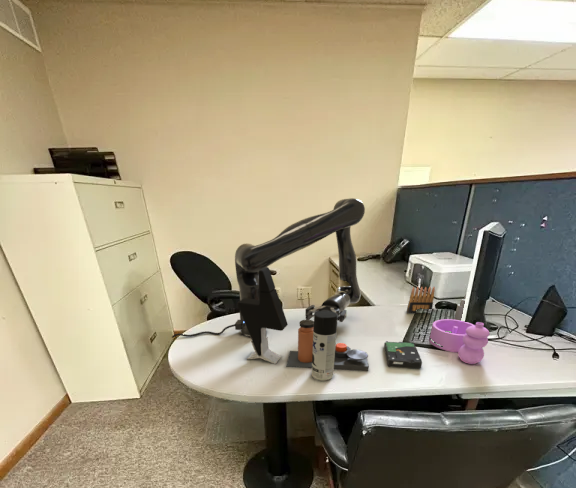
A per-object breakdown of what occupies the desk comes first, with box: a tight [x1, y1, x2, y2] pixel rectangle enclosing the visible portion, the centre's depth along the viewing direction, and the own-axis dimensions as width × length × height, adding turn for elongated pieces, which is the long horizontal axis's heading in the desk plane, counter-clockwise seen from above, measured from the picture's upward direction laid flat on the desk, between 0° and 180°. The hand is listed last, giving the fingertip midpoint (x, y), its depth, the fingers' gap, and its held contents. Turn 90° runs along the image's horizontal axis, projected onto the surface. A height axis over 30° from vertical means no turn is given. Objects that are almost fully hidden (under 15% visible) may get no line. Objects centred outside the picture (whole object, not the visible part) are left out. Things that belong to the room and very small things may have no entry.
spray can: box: [311, 311, 338, 382], centre depth 96 cm, size 7×7×20 cm
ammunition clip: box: [406, 286, 436, 314], centre depth 145 cm, size 11×2×12 cm, turn 89°
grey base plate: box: [334, 345, 370, 372], centre depth 107 cm, size 14×11×4 cm
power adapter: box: [453, 293, 467, 321], centre depth 135 cm, size 3×5×12 cm, turn 81°
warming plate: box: [346, 349, 369, 360], centre depth 105 cm, size 7×7×1 cm
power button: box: [336, 342, 348, 352], centre depth 108 cm, size 4×4×2 cm
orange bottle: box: [297, 319, 314, 363], centre depth 106 cm, size 6×6×13 cm
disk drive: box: [383, 340, 423, 369], centre depth 110 cm, size 10×3×15 cm
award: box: [236, 266, 288, 365], centre depth 103 cm, size 15×5×30 cm, turn 71°
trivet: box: [286, 350, 312, 369], centre depth 109 cm, size 11×11×1 cm
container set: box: [428, 318, 490, 365], centre depth 113 cm, size 25×15×13 cm, turn 179°
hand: (318, 319), depth 112 cm, fingers open, 8 cm apart
